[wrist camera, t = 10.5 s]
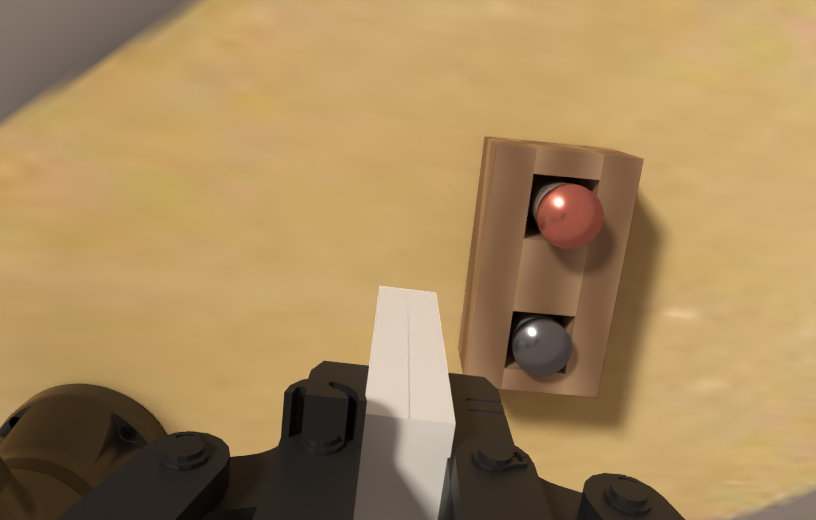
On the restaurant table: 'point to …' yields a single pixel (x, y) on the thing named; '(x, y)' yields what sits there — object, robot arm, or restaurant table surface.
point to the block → (544, 263)
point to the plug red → (565, 211)
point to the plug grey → (539, 343)
